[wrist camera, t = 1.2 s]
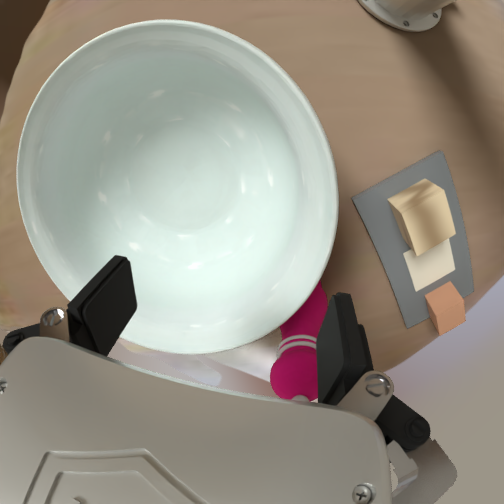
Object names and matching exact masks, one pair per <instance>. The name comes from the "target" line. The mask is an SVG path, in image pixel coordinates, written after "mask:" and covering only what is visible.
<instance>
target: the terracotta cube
mask: <svg viewBox="0 0 504 504" xmlns="http://www.w3.org/2000/svg"><path fill="white" fill-rule="evenodd" d="M425 299H426V303H427V307H428V311H429V315H430V317H431V319H432V321H433V323H434V325H435V327H436V329H437V331H438V333H439V335H440V336H441V335H442V334H444V333H446V332H448V331H449V330H451V329H453V328H455V327H457V326H458V325H460V324H462V323H463V322H465V321H466V320H465V308H464V300H463V298H462V297H461V295H460V294H459V292H458V291H457V290H456V288H455V287H454V285H453V284H452V283H451V281H449V282H447V283H446V284H444V285H442V286H440V287H439V288H437V289H435V290H433V291H432V292H430V293H428V294H426V295H425Z"/></svg>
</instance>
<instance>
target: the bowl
mask: <svg viewBox="0 0 504 504" xmlns="http://www.w3.org/2000/svg"><path fill="white" fill-rule="evenodd" d="M17 191H18V199H19V204H20V209H21V214H22V218H23V221H24V225H25V228H26V231H27V233H28V236H29V239H30V241H31V244H32V246H33V248H34V250H35V252H36V254H37V256H38V258H39V260H40V262H41V264H42V265H43V267H44V268H45V270H46V271H47V273H48V275H49V276H50V278H51V279H52V280H53V282H54V283H55V284H56V286H57V287H58V288H59V289H60V290H61V292H62V293H63V294H64V295H65V296H66V297H67V298H68V300H69V301H70V302H71V300H72V299H73V298H74V297H75V296H76V295H77V294H78V293H79V292H80V291H81V289H82V288H83V287H84V286H85V285H86V284H87V283H88V282H89V281H90V280H91V279H92V278H93V277H94V276H95V275H96V274H97V273H98V272H99V271H100V270H101V269H102V268H103V267H104V266H105V264H106V263H107V262H108V261H109V260H110V259H111V258H113V257H114V256H115V255H119V256H124V257H127V259H128V260H129V261H130V263H131V269H132V276H133V282H134V288H135V294H136V299H137V310H136V312H135V313H134V315H133V316H132V318H131V319H130V321H129V322H128V324H127V325H126V327H125V329H124V330H123V332H122V333H121V335H120V336H119V337H121V338H123V339H125V340H127V341H130V342H132V343H135V344H137V345H140V346H143V347H146V348H150V349H154V350H158V351H163V352H169V353H176V354H209V353H217V352H223V351H227V350H231V349H235V348H238V347H241V346H244V345H246V344H249V343H251V342H254V341H256V340H258V339H260V338H262V337H264V336H265V335H267V334H269V333H270V332H272V331H274V330H275V329H276V328H278V327H279V326H281V325H282V324H283V323H284V322H286V321H287V320H288V319H289V318H290V317H291V316H292V315H293V314H294V313H295V312H296V311H297V310H298V309H299V308H300V307H301V306H302V305H303V304H304V302H305V301H306V300H307V299H308V297H309V296H310V295H311V293H312V292H313V290H314V288H315V287H316V285H317V284H318V282H319V280H320V278H321V276H322V274H323V272H324V270H325V268H326V266H327V263H328V260H329V257H330V255H331V251H332V248H333V244H334V240H335V236H336V230H337V224H338V215H339V192H338V181H337V173H336V168H335V163H334V158H333V154H332V151H331V147H330V144H329V141H328V139H327V136H326V134H325V131H324V129H323V127H322V124H321V122H320V120H319V118H318V116H317V114H316V113H315V111H314V109H313V107H312V106H311V104H310V102H309V101H308V99H307V97H306V96H305V94H304V93H303V92H302V91H301V89H300V88H299V87H298V85H297V84H296V83H295V82H294V80H293V79H292V78H291V77H290V76H289V75H288V74H287V73H286V72H285V71H284V70H283V69H282V68H281V67H280V66H279V65H278V64H277V63H276V62H275V61H274V60H273V59H271V58H270V57H269V56H268V55H266V54H265V53H264V52H262V51H261V50H260V49H258V48H257V47H255V46H254V45H252V44H250V43H249V42H247V41H245V40H243V39H241V38H239V37H237V36H235V35H233V34H231V33H229V32H226V31H224V30H221V29H219V28H216V27H213V26H209V25H206V24H202V23H196V22H190V21H183V20H152V21H144V22H138V23H133V24H129V25H126V26H122V27H119V28H116V29H113V30H111V31H109V32H106V33H104V34H102V35H100V36H98V37H96V38H94V39H93V40H91V41H89V42H88V43H86V44H84V45H83V46H82V47H80V48H79V49H78V50H76V51H75V52H74V53H72V54H71V55H70V56H69V57H68V58H66V59H65V60H64V61H63V62H62V63H61V64H60V65H59V66H58V68H57V69H56V70H55V71H54V72H53V73H52V74H51V76H50V77H49V78H48V80H47V81H46V82H45V84H44V85H43V86H42V88H41V90H40V91H39V93H38V95H37V97H36V98H35V100H34V102H33V104H32V106H31V108H30V111H29V113H28V116H27V118H26V121H25V124H24V127H23V131H22V135H21V139H20V144H19V150H18V158H17Z"/></svg>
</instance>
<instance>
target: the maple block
mask: <svg viewBox="0 0 504 504" xmlns="http://www.w3.org/2000/svg"><path fill="white" fill-rule="evenodd" d="M387 200H388V202H389V205H390V207H391V209H392V212H393V214H394V217H395V219H396V222H397V224H398V227H399V229H400V232H401V234H402V237H403V239H404V240H405V241H406V243H407V244H408V245H409V247H410V248H411V249H412V251H413V252H414V253H415V255H416V256H419V255H420V254H422V253H424V252H426V251H428V250H429V249H431V248H433V247H435V246H436V245H438V244H440V243H441V242H443V241H445V240H447V239H448V238H450V237H452V236H453V235H455V234H456V232H455V228H454V224H453V220H452V216H451V212H450V208H449V205H448V201H447V198H446V194H445V191H444V189H442V188H440V187H439V186H437V185H435V184H434V183H432V182H430V181H429V180H427V179H423V180H421V181H419V182H418V183H416V184H414V185H412V186H410V187H409V188H407V189H405V190H403V191H401V192H399V193H398V194H396V195H394V196H392V197H390V198H388V199H387Z"/></svg>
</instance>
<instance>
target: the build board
mask: <svg viewBox="0 0 504 504" xmlns="http://www.w3.org/2000/svg"><path fill="white" fill-rule="evenodd" d="M423 179H427V180H429V181H430V182H432V183H434V184H435V185H437V186H439V187H440V188H442V189H444V191H445V194H446V198H447V201H448V205H449V208H450V212H451V216H452V220H453V224H454V228H455V232H456V234H455V235H453V236H452V237H450V238H448V239H447V240H445V241H443V242H441V243H440V244H438V245H436V246H435V247H433V248H431V249H429V250H428V251H426V252H424V253H422V254H420V255H419V256H416V255H415V253H414V252H413V251H412V249H411V248H410V247H409V245H408V244H407V243H406V241H405V240H404V239H403V237H402V234H401V232H400V229H399V227H398V224H397V222H396V219H395V217H394V214H393V212H392V209H391V207H390V205H389V202H388V200H387V199H388V198H390V197H392V196H394V195H396V194H398V193H399V192H401V191H403V190H405V189H407V188H409V187H410V186H412V185H414V184H416V183H418V182H419V181H421V180H423ZM352 200H353V202H354V204H355V206H356V208H357V210H358V212H359V214H360V216H361V218H362V220H363V222H364V224H365V226H366V228H367V231H368V233H369V235H370V237H371V239H372V241H373V244H374V246H375V248H376V250H377V252H378V255H379V257H380V259H381V262H382V264H383V266H384V269H385V271H386V274H387V276H388V279H389V281H390V284H391V286H392V289H393V291H394V294H395V297H396V299H397V302H398V305H399V307H400V310H401V313H402V316H403V319H404V322H405V325H406V327H407V329H408V328H410V327H412V326H414V325H416V324H418V323H420V322H422V321H424V320H426V319H428V318H429V317H430V315H429V311H428V307H427V303H426V299H425V295H426V294H428V293H430V292H432V291H433V290H435V289H437V288H439V287H440V286H442V285H444V284H446V283H447V282H449V281H451V283H452V284H453V285H454V287H455V288H456V290H457V291H458V292H459V294H460V295H461V297H462V298H464V297H466V296H467V295H469V294H471V293H472V292H474V286H473V276H472V268H471V261H470V254H469V248H468V242H467V237H466V232H465V227H464V222H463V218H462V213H461V209H460V205H459V201H458V198H457V194H456V190H455V187H454V184H453V180H452V177H451V174H450V171H449V168H448V165H447V162H446V159H445V156H444V154H443V151H440V150H439V151H437V152H435V153H433V154H431V155H429V156H428V157H426V158H424V159H422V160H420V161H418V162H417V163H415V164H413V165H411V166H409V167H407V168H405V169H404V170H402V171H400V172H398V173H396V174H394V175H392V176H391V177H389V178H387V179H385V180H383V181H381V182H380V183H378V184H376V185H374V186H372V187H370V188H368V189H367V190H365V191H363V192H361V193H359V194H357V195H356V196H354V197H352Z"/></svg>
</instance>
